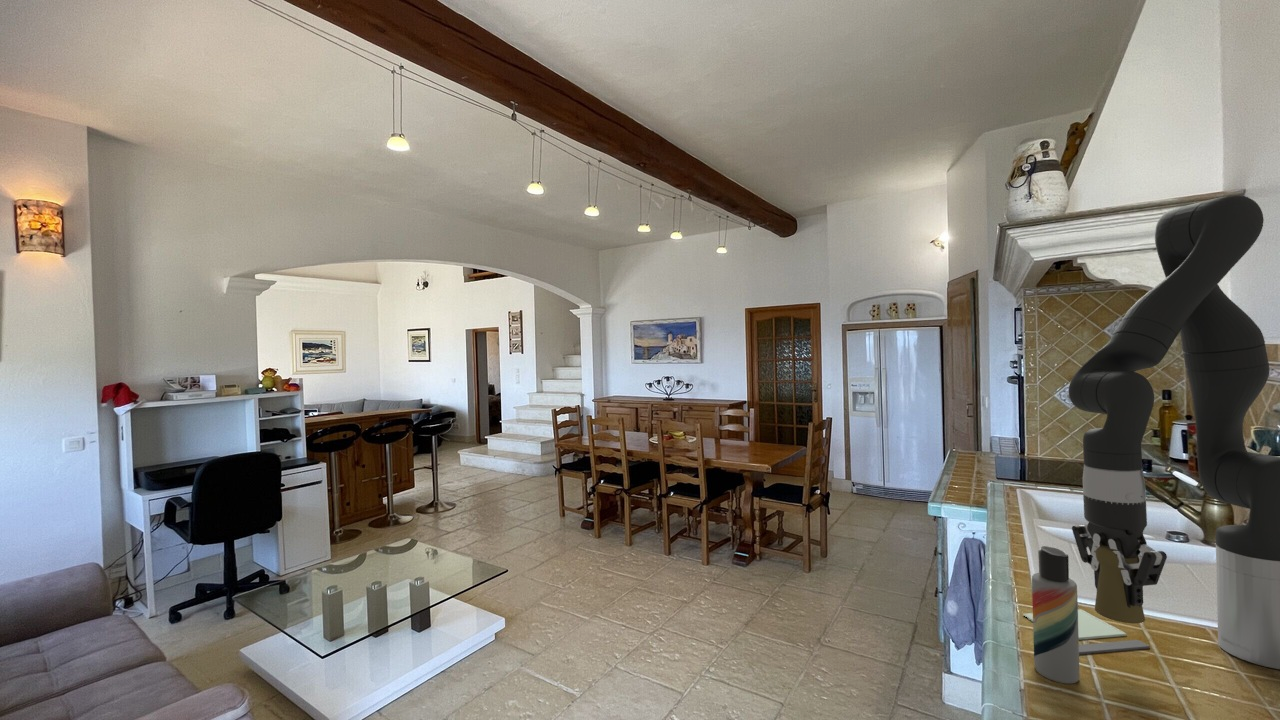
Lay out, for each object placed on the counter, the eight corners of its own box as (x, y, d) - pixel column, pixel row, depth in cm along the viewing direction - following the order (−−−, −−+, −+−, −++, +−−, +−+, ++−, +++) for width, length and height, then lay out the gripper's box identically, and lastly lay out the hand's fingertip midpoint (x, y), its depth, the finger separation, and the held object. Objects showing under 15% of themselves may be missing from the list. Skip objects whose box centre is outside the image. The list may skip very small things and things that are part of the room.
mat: (1080, 611, 103) (1080, 609, 103) (1126, 635, 94) (1126, 633, 94) (1022, 615, 102) (1022, 613, 102) (1063, 641, 93) (1063, 638, 93)
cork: (1155, 624, 81) (1152, 553, 81) (1110, 622, 83) (1107, 553, 82) (1127, 605, 87) (1124, 539, 87) (1086, 604, 88) (1082, 539, 88)
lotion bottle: (1035, 658, 88) (1031, 540, 88) (1079, 670, 85) (1076, 547, 84) (1033, 675, 84) (1029, 551, 84) (1079, 689, 80) (1076, 558, 80)
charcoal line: (1138, 641, 92) (1138, 639, 92) (1149, 648, 90) (1149, 646, 90) (1051, 649, 91) (1051, 647, 91) (1061, 656, 89) (1061, 653, 89)
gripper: (1183, 505, 78) (1188, 620, 78) (1094, 481, 92) (1098, 579, 92) (1136, 509, 77) (1141, 625, 78) (1053, 485, 91) (1058, 583, 92)
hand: (1118, 599), depth 85 cm, fingers closed on cork, 4 cm apart
